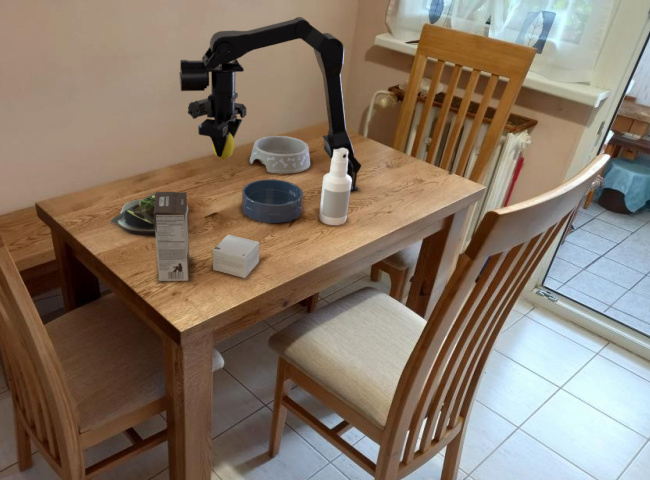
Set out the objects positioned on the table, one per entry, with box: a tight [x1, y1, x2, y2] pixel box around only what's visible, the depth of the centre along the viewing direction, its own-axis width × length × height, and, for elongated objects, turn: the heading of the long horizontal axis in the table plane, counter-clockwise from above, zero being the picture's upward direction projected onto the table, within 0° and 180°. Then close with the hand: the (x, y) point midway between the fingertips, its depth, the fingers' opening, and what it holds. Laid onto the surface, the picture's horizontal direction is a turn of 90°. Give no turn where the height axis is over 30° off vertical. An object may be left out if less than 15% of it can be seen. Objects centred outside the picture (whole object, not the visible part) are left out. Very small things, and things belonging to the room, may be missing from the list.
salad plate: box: [109, 192, 189, 237], centre depth 141 cm, size 19×18×5 cm
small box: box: [211, 234, 260, 279], centre depth 124 cm, size 8×8×5 cm
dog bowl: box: [249, 135, 311, 175], centre depth 172 cm, size 17×18×5 cm
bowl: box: [241, 178, 304, 224], centre depth 146 cm, size 15×15×5 cm
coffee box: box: [154, 191, 190, 282], centre depth 119 cm, size 9×6×16 cm
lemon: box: [211, 134, 235, 161], centre depth 147 cm, size 6×6×8 cm
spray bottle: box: [318, 148, 352, 226], centre depth 139 cm, size 7×7×18 cm
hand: (223, 152), depth 148 cm, fingers closed on lemon, 5 cm apart
